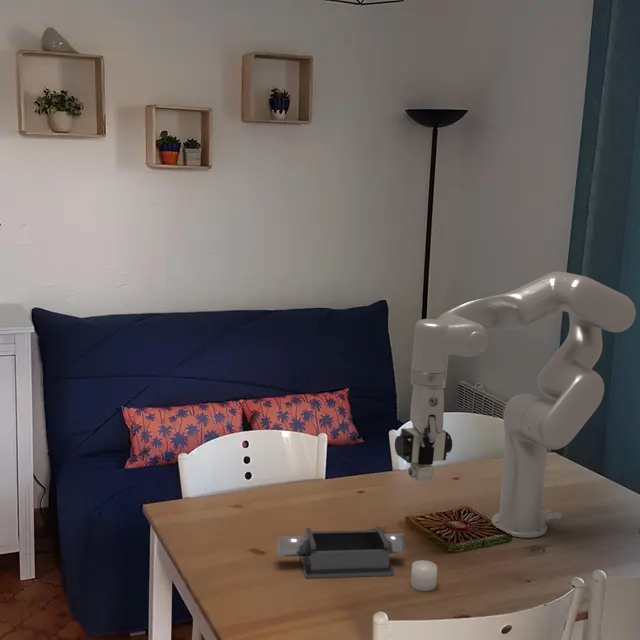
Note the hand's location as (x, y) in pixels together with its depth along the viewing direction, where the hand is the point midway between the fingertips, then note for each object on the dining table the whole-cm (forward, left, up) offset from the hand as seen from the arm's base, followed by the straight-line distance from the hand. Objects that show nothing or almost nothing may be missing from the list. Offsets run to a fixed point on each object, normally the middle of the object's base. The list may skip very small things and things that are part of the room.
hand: (421, 458), depth 181 cm
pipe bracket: (+17, +8, -20) cm, 27 cm away
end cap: (+3, +18, -20) cm, 27 cm away
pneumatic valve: (0, 0, -5) cm, 5 cm away
